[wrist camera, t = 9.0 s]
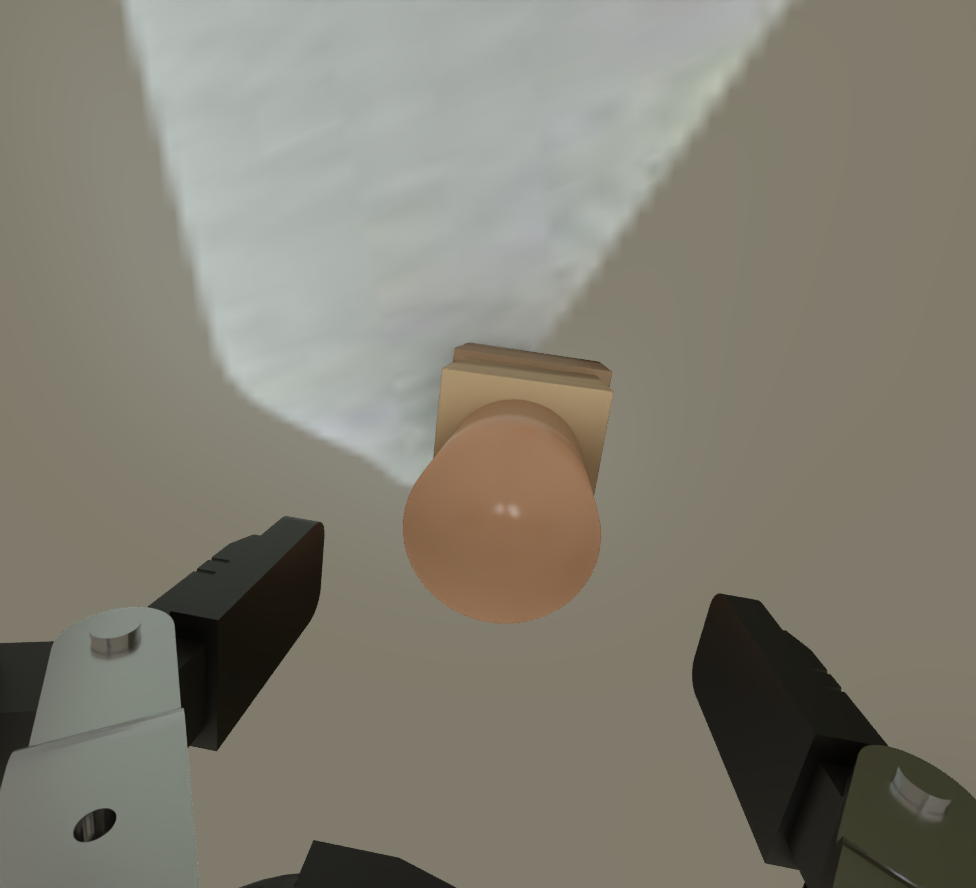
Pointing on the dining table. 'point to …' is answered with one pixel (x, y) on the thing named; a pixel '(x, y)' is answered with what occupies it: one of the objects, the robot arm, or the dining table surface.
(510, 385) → the tower top
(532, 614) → the rounded stamp handle
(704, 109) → the dining table surface
